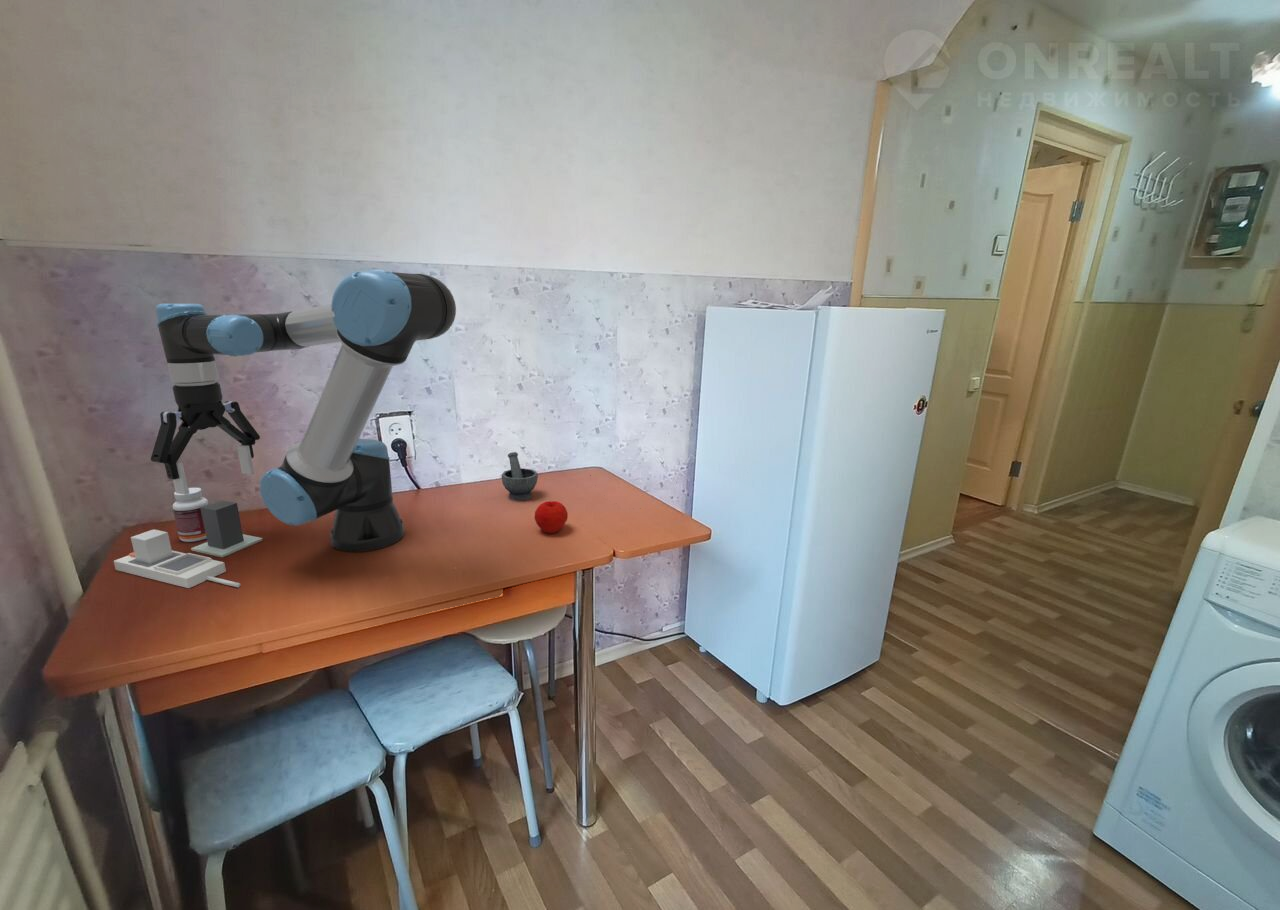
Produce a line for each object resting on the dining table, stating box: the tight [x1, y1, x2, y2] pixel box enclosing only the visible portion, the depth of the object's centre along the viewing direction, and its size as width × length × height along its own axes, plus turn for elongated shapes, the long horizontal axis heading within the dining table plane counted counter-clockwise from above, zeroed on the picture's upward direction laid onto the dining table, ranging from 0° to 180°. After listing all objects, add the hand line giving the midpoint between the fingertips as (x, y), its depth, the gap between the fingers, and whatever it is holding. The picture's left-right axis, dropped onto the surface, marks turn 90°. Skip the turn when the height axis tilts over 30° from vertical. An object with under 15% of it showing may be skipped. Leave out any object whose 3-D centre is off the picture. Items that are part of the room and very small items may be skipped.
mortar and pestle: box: [501, 451, 539, 502], centre depth 152 cm, size 11×9×12 cm
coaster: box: [190, 533, 263, 558], centre depth 119 cm, size 9×9×1 cm
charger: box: [200, 499, 244, 549], centre depth 117 cm, size 4×5×9 cm
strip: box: [113, 528, 241, 589], centre depth 106 cm, size 28×7×7 cm, turn 72°
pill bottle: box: [172, 487, 209, 543], centre depth 121 cm, size 6×6×11 cm
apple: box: [534, 500, 569, 534], centre depth 131 cm, size 8×8×7 cm
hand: (217, 483), depth 115 cm, fingers open, 13 cm apart
